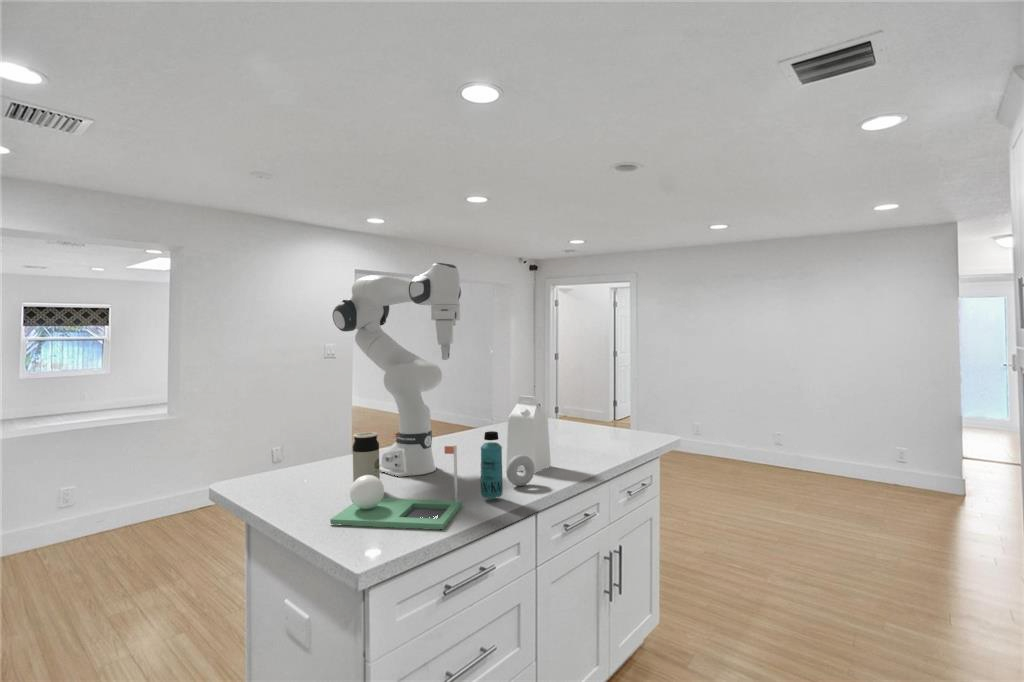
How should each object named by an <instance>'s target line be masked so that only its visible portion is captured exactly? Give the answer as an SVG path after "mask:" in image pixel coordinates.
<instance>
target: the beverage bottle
mask: <svg viewBox="0 0 1024 682" xmlns="http://www.w3.org/2000/svg"><path fill="white" fill-rule="evenodd" d="M483 439H484V440H485V441H489V442H484V443H483V444H482V445H481V446H480V495H481V497H482V498H485V499H495V498H499V497H501V496H502V495H503V492H504V491H503V490H504V485H503V481H504V480H503V477H504V476H503V474H504V473H503V452H502V451H503V446H502V445H501V444H500V443H499V442H496V441H497V440H499V433H498V431H491V430H490V431H485V432H484V437H483ZM492 441H493V442H492Z"/></svg>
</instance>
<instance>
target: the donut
mask: <svg viewBox="0 0 1024 682" xmlns="http://www.w3.org/2000/svg"><path fill="white" fill-rule="evenodd" d="M506 465H507V464H506ZM521 465H523V466H524V472H522V474H520V475H519V474H518V473H517V472H518V471H517V469H518V467H519V466H521ZM505 471H506V473H505V474H506V478H507V480H508V481H509V483H511V485H514V486H516V487H522V486H525V485H527V484H528V483H530V482H531V481H532V479H533V478H534V475H535V474H534V471H535V467H534V463H533V461H532V459H531V458H530V457H528V456H526V455H517V456H515V457H514V458H512V459H511V460H510V462H509V463H508V465H507V469H506V470H505Z"/></svg>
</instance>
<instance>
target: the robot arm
mask: <svg viewBox="0 0 1024 682" xmlns="http://www.w3.org/2000/svg"><path fill="white" fill-rule="evenodd" d="M460 285H461V284H460V274H459V270H458V267H457V266H456V265H455V264H451V263H446V262H445V263H444V262H435V263H433V264H432V265H431V267H430V268H429V269H428V270H427V271H425V272H423V273H421V274H419V275H416V276H414V277H413V278H412V279H411V280H410V281H409V280H405V279H401V278H398V277H393V276H389V275H384V274H383V275H382V274H372V275H366V276H363V277H360V278H357V280H355V281H354V283H352V286H351V295H352V296H351V297H350V298H348V299H347V298H344V299H343V300H342V301H341V302H340V303H339V304H338V305H337V306H335V307H334V309H333V311H332V321H333V323H334V325H335V326H336V327H337V329H339V331H341V332H353V331H355V330H357V331H356V332H355V336H354V341H355V343H356V345H357V346H358V347H359V349H360V350H361V351H362V352H363V354H365V356H366V357H367V358H369V360H370V361H372V363H374V364H375V365H377V367H378V368H380V369H381V370H382V371H383V372H384V374H383V375H384V376H383V383H384V387H385V389H386V391H387V392H389V393H390V394H391V395H392V397H393V399H394V401H395V403H396V405H397V406H396V407H397V411H398V423H399V424H398V426H399V428H398V429H399V431H398V432H397V433H393V435H394V436H393V438H396V439H395V442H394V443H393V444H392V445H390V446H389V448H387V449H386V450H385V451H384V452H383V453H382V455H381V463H379V470H380V471H381V472H380V473H382V472H385V473H384V474H386V473H388V474H387V475H390V474H391V475H390V476H394V475H395V476H394V477H397V476H398V478H401V477H407V476H409V477H410V476H420V475H426V474H430V473H432V472H434V471H436V469H437V467H436V465H435V461H434V455H433V448H432V443H433V433H432V430H431V429H432V428H431V409H430V407H429V406H428V405H426V404H425V402H424V399H423V397H422V393H423V392H424V393H425V392H429V391H431V390H433V389H435V388H436V387H438V386H439V385H440V384H441V382H442V378H443V373H442V370H441V368H440V367H439V366H438V365H437V364H436V363H434V362H430V361H428V360H426V359H424V358H422V357H421V356H419V355H416V354H415V353H413V352H411V351H409V350H407V349H406V348H405V347H403V346H402V345H401V344H399V342H397V341H396V340H395V339H393V337H391V336H390V335H389V334H388V333H386V332H385V331H384V330H383V329H382V327H381V326H383V325H385V324H386V322H387V318H388V317H389V313H390V306H393V305H399V304H403V303H409V302H411V303H414V304H416V305H418V306H419V305H420V306H431V308H430V309H431V311H430V312H431V315H430V316H431V318H430V319H431V321H435V330H436V339H437V344H438V345H440V349H441V360H442V361H447V360H448V359H449V358H450V354H451V353H450V351H451V345H453V341H454V340H453V339H454V338H453V336H454V335H453V333H454V328H453V327H455V326H457V321H460V320H461V319H460V318H461V304H460V298H461V295H462V291H461V290H462V289H461V286H460Z"/></svg>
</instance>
